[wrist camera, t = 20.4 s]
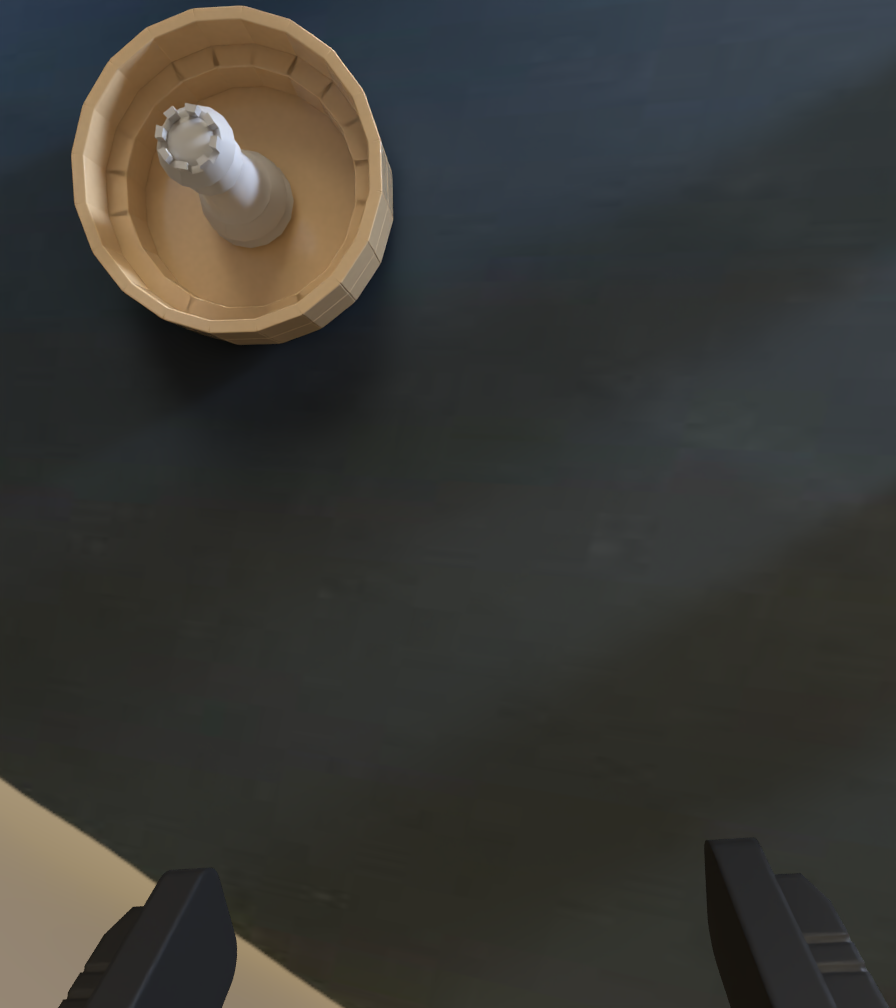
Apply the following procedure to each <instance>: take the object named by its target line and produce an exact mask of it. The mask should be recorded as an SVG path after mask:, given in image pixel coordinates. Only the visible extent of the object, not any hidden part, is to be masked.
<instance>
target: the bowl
mask: <svg viewBox="0 0 896 1008" xmlns="http://www.w3.org/2000/svg"><path fill="white" fill-rule="evenodd" d="M185 103H189V104H195V105H200V106H205V107H210V108H212V109H213V110H215V111H216V112H218V113H219V114H221V115H222V116H223V117H224V118H225V120H226V121H227V123H228V124H229V125H230V127H231V128H232V131H233V135H234V139H235V141H236V142H237V144H238V145H239V147H240V149H243V150H249V151H254V152H258V153H260V154H261V155H263V156H264V157H266V158H267V159H269V160H270V161H272V162H273V163H274V164H275V165H276V166H277V167H278V168H280V170H281V171H282V173H283V174H284V176H285V177H286V178H287V180H288V181H289V183H290V186H291V191H292V196H293V200H294V202H293V208H292V215H291V219H290V221H289V223H288V224H287V226H286V228H285V229H284V231H283V233H282V234H281V235H280V236H278V237H277V238H276V239H274V240H273V241H272V242H270V243H269V244H267V245H263V246H258V247H254V248H247V247H242V246H236V245H233V244H232V243H230V242H229V241H227V240H226V239H224V238H223V237H221V236H220V235H219V234H218V232H217V231H216V230H214V229H213V227H212V226H211V224H210V223H209V221H208V220H207V218H206V217H205V215H204V213H203V210H202V206H201V201H200V197H199V193H197V192H196V191H194V190H193V189H191V188H190V187H186V186H182V185H180V184H179V183H177V182H176V181H174V180H173V179H171V178H170V177H169V176H168V175H167V173H166V172H165V170H164V169H163V167H162V166H161V164H160V161H159V157H158V152H157V141H158V140H157V139H156V138H155V131H156V124H157V125H159V126H163V124H164V122H165V120H166V119H167V117H166V116H165V115H164V114H163V113H164V112H165V111H166V110H168V109H169V108H170V107H172V106H173V107H174V108H175V109H176V110H178V109H179V108H183V107H185ZM71 160H72V175H73V190H74V204H75V207H76V209H77V212H78V215H79V217H80V220H81V223H82V225H83V228H84V231H85V233H86V236H87V239H88V241H89V244H90V247H91V249H92V251H93V254H94V255H95V256H96V258H97V259H98V260H99V262H100V263H101V264H102V265H103V267H104V268H105V269H106V271H107V272H108V273H109V274H110V276H111V277H112V278H113V280H114V281H115V282H116V284H117V285H118V286H119V287H120V289H121V290H122V291H123V292H124V293H125V294H127V295H128V296H130V297H131V298H133V299H134V300H136V301H137V302H138V303H140V304H141V305H143V306H144V307H146V308H147V309H148V310H150V311H151V312H153V313H154V314H156V315H157V316H159V317H160V318H161V319H164V320H166V321H168V322H171V323H173V324H176V325H178V326H181V327H184V328H186V329H189V330H191V331H194V332H196V333H199V334H203V335H206V336H209V337H213V338H216V339H219V340H223V341H226V342H229V343H233V344H236V345H237V344H238V345H255V344H280V343H284V342H287V341H290V340H292V339H295V338H298V337H301V336H303V335H306V334H309V333H311V332H314V331H317V330H320V329H321V328H323V327H324V326H326V325H327V324H328V323H329V322H331V321H332V320H333V319H334V318H336V317H337V316H338V315H339V314H341V313H342V312H343V311H344V310H346V309H347V308H348V307H349V306H351V305H352V304H353V303H354V302H355V300H357V299H358V297H359V296H360V294H361V293H362V291H363V290H364V288H365V287H366V285H367V284H368V282H369V281H370V279H371V277H372V276H373V274H374V273H375V271H376V270H377V268H378V267H379V265H380V263H381V261H382V258H383V254H384V251H385V247H386V244H387V240H388V236H389V233H390V229H391V226H392V222H393V192H392V172H391V169H390V166H389V163H388V160H387V157H386V154H385V151H384V148H383V145H382V142H381V139H380V136H379V133H378V130H377V127H376V124H375V121H374V118H373V115H372V112H371V110H370V107H369V104H368V101H367V98H366V95H365V92H364V91H363V89H362V87H361V86H360V85H359V83H358V82H357V81H356V79H355V78H354V77H353V75H352V74H351V73H350V71H349V70H348V69H347V67H346V66H345V65H344V63H343V62H342V61H341V59H340V58H339V57H338V55H337V54H336V52H335V51H334V50H332V48H331V47H329V46H328V45H326V44H325V43H324V42H322V41H321V40H319V39H318V38H316V37H315V36H314V35H312V34H311V33H309V32H308V31H306V30H305V29H304V28H302V27H301V26H299V25H298V24H296V23H295V22H294V21H292V20H290V19H287V18H284V17H281V16H277V15H274V14H270V13H267V12H263V11H260V10H256V9H253V8H249V7H246V6H226V7H208V8H194V9H190V10H187V11H185V12H183V13H180V14H178V15H175V16H173V17H171V18H168V19H166V20H163V21H161V22H158V23H156V24H154V25H151V26H149V27H147V28H145V29H144V30H143V31H142V32H141V33H139V34H138V35H137V36H136V37H135V38H134V39H133V40H131V41H130V42H129V43H128V44H127V45H126V46H125V47H123V48H122V49H121V50H120V51H119V52H118V53H117V54H115V55H114V56H113V57H112V58H111V59H110V60H109V61H108V63H107V64H106V66H105V68H104V69H103V71H102V73H101V75H100V76H99V78H98V80H97V81H96V83H95V85H94V86H93V88H92V90H91V91H90V93H89V95H88V96H87V98H86V100H85V102H84V105H83V106H82V110H81V114H80V118H79V123H78V127H77V131H76V135H75V140H74V144H73V148H72V154H71Z"/></svg>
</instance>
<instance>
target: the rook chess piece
mask: <svg viewBox="0 0 896 1008" xmlns="http://www.w3.org/2000/svg"><path fill="white" fill-rule="evenodd" d="M163 114H164V115H165V116H166V117H167V119H166V120H165V122H164V124H163V126H159V125H157V124H156V131H155V138H156V139H157V140H158V141H157V152H158V157H159V161H160V164H161V166H162V167H163V169H164V170H165V172H166V173H167V175H168V176H169V177H170V178H171V179H173V180H174V181H176V182H177V183H179V184H180V185H182V186H186V187H190V188H191V189H193V190H194V191H196V192H197V193H199V197H200V201H201V206H202V210H203V213H204V215H205V217H206V218H207V220H208V221H209V223H210V224H211V226H212V227H213V229H214V230H216V231H217V232H218V234H219V235H220V236H221V237H223V238H224V239H226V240H227V241H229V242H230V243H232V244H233V245H236V246H242V247H247V248H254V247H258V246H263V245H267V244H269V243H270V242H272V241H273V240H274V239H276V238H277V237H278V236H280V235H281V234H282V233H283V231H284V229H285V228H286V226H287V224H288V223H289V221H290V219H291V215H292V208H293V202H294V200H293V196H292V191H291V186H290V183H289V181H288V180H287V178H286V177H285V176H284V174H283V173H282V171H281V170H280V168H278V167H277V166H276V165H275V164H274V163H273V162H272V161H270V160H269V159H267V158H266V157H264V156H263V155H261V154H260V153H258V152H254V151H249V150H243V149H240V147H239V145H238V144H237V142H236V141H235V139H234V135H233V131H232V128H231V127H230V125H229V124H228V123H227V121H226V120H225V118H224V117H223V116H222V115H221V114H219V113H218V112H216V111H215V110H213V109H212V108H210V107H205V106H200V105H195V104H189V103H185V107H183V108H179V109H178V110H176V109H175V108H174V107H173V106H172V107H170V108H169V109H168V110H166V111H165V112H164V113H163Z"/></svg>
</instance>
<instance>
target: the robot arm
mask: <svg viewBox="0 0 896 1008" xmlns="http://www.w3.org/2000/svg"><path fill="white" fill-rule="evenodd" d="M704 854H705V874H706V894H707V914H708V925H709V932H710V937H711V943H712V947H713V952H714V956H715V959H716V963H717V966H718V969H719V973H720V976H721V979H722V982H723V985H724V988H725V991H726V994H727V997H728V1000H729V1003H730V1006H731V1008H889V1007H888V1005H887V1003H886V1001H885V999H884V998H883V996H882V994H881V992H880V990H879V988H878V987H877V985H876V983H875V981H874V979H873V977H872V976H871V974H870V972H867V970H866V967H865V963H864V961H863V959H862V957H861V956H860V954H859V952H858V950H857V948H856V946H855V945H854V943H853V942H851V940H850V936H849V934H848V932H847V930H846V928H845V926H844V925H843V923H842V921H841V919H840V917H839V915H838V914H837V912H836V910H835V908H834V906H833V904H832V903H831V901H830V900H829V899H828V898H827V897H826V896H824V895H823V894H822V893H821V892H820V891H819V890H818V889H817V888H816V887H815V886H814V885H813V884H811V883H810V882H809V881H808V880H807V879H806V878H805V877H804V876H803V875H802V874H801V873H797V874H778V875H774V873H773V871H772V869H771V867H770V865H769V862H768V860H767V858H766V856H765V854H764V852H763V850H762V848H761V846H760V844H759V842H758V841H757V839H756V838H754V837H753V838H736V839H719V840H706V841H705V845H704ZM236 959H237V943H236V937H235V933H234V929H233V925H232V922H231V918H230V915H229V911H228V908H227V904H226V900H225V897H224V893H223V890H222V886H221V882H220V879H219V876H218V873H217V872H216V870H215V869H213V868H197V869H180V870H169V871H167V872H165V873H164V874H163V875H162V877H161V878H160V880H159V881H158V883H157V885H156V886H155V888H154V890H153V891H152V893H151V895H150V896H149V898H148V900H147V901H146V903H145V905H144V906H140V907H132V908H131V909H130V910H129V911H128V912H127V913H126V914H125V915H124V916H123V917H122V918H121V919H120V920H119V921H118V922H117V923H116V924H115V925H114V926H113V927H112V928H111V929H110V930H109V931H107V933H106V934H104V936H103V937H102V939H101V941H100V942H99V944H98V945H97V947H96V949H95V950H94V952H93V953H92V955H91V957H90V958H89V960H88V961H87V963H86V964H85V969H84V972H83V973H80V974H79V976H78V977H77V979H76V980H75V982H74V984H73V985H72V987H71V988H70V990H69V992H68V997H67V999H66V1000H63V1001H62V1003H61V1004H60V1006H59V1007H58V1008H222V1006H223V1003H224V1000H225V998H226V995H227V993H228V991H229V988H230V986H231V983H232V980H233V976H234V972H235V967H236Z"/></svg>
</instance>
